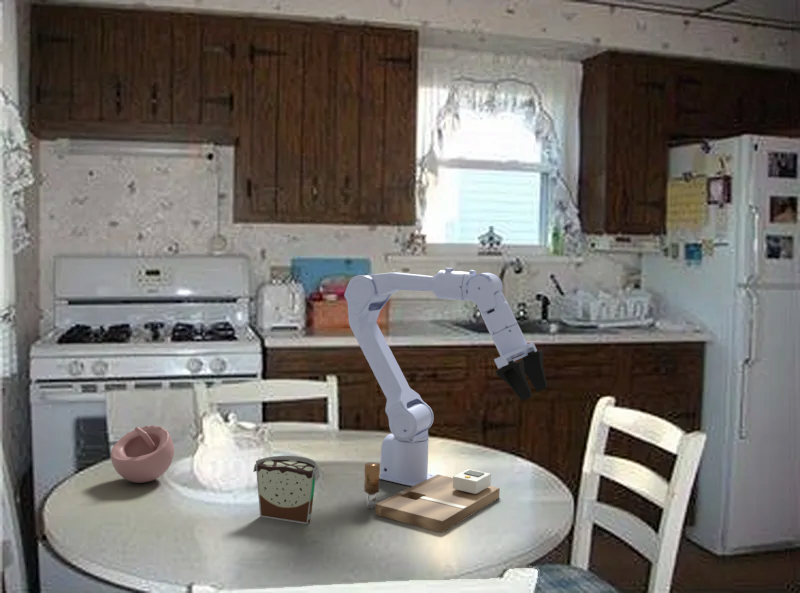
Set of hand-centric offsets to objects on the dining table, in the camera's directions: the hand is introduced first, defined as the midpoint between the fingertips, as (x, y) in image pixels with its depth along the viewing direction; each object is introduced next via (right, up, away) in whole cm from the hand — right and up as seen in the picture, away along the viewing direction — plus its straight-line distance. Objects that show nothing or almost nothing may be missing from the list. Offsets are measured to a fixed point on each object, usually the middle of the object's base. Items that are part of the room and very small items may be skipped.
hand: (535, 394), depth 147 cm
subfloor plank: (-18, -21, -3) cm, 28 cm away
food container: (-45, -21, -9) cm, 51 cm away
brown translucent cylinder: (-31, -20, -4) cm, 38 cm away
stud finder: (-12, -18, +1) cm, 22 cm away
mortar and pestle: (-78, -19, +7) cm, 80 cm away
